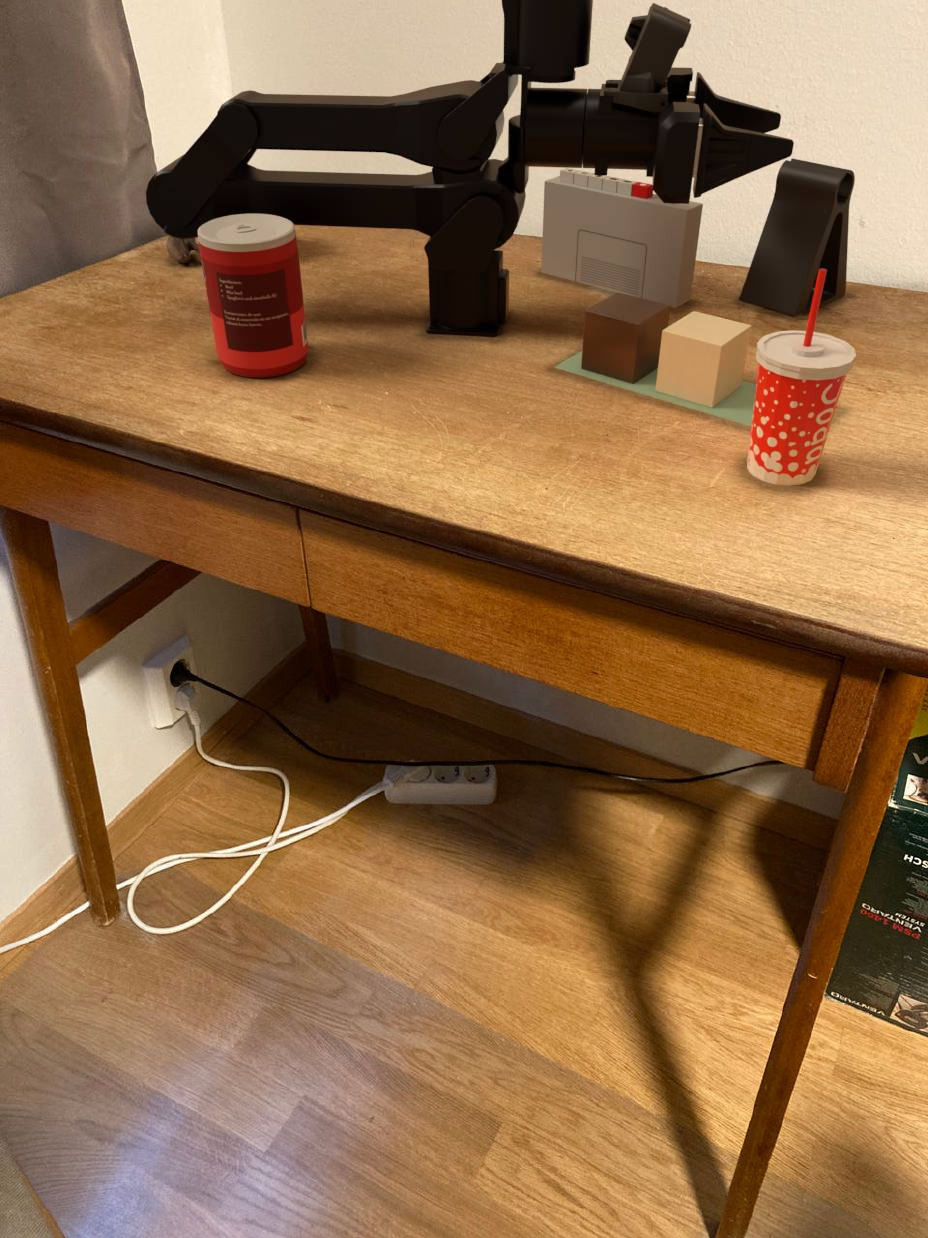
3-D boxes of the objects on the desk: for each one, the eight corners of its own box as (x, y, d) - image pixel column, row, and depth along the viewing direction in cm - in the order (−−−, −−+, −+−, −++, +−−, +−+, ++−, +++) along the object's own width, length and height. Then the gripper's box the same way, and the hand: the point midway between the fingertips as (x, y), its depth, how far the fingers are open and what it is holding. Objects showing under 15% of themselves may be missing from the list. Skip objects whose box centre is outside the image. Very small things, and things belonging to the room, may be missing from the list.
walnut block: (580, 368, 83) (584, 309, 80) (612, 349, 86) (617, 291, 83) (633, 384, 80) (639, 323, 77) (664, 363, 83) (671, 304, 80)
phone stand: (793, 320, 91) (820, 181, 84) (737, 302, 95) (759, 167, 87) (845, 295, 96) (875, 161, 89) (791, 279, 100) (816, 150, 92)
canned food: (273, 334, 90) (256, 206, 83) (328, 360, 85) (316, 227, 78) (200, 359, 86) (176, 227, 79) (254, 387, 81) (234, 249, 74)
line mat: (553, 370, 83) (553, 366, 83) (598, 343, 87) (599, 340, 87) (798, 444, 73) (799, 440, 72) (836, 410, 77) (837, 406, 77)
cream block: (655, 391, 79) (662, 329, 76) (685, 369, 82) (693, 310, 79) (712, 408, 77) (722, 345, 74) (741, 385, 80) (752, 325, 77)
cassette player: (689, 302, 95) (704, 191, 89) (675, 310, 93) (689, 198, 87) (556, 267, 103) (561, 164, 97) (541, 274, 101) (545, 169, 95)
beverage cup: (771, 502, 66) (815, 293, 58) (717, 461, 71) (750, 261, 62) (845, 482, 68) (898, 277, 60) (788, 444, 73) (829, 248, 64)
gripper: (586, 30, 68) (824, 32, 66) (597, -4, 82) (792, -3, 80) (576, 202, 74) (791, 209, 73) (588, 142, 89) (768, 147, 87)
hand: (786, 133), depth 78 cm, fingers open, 9 cm apart
